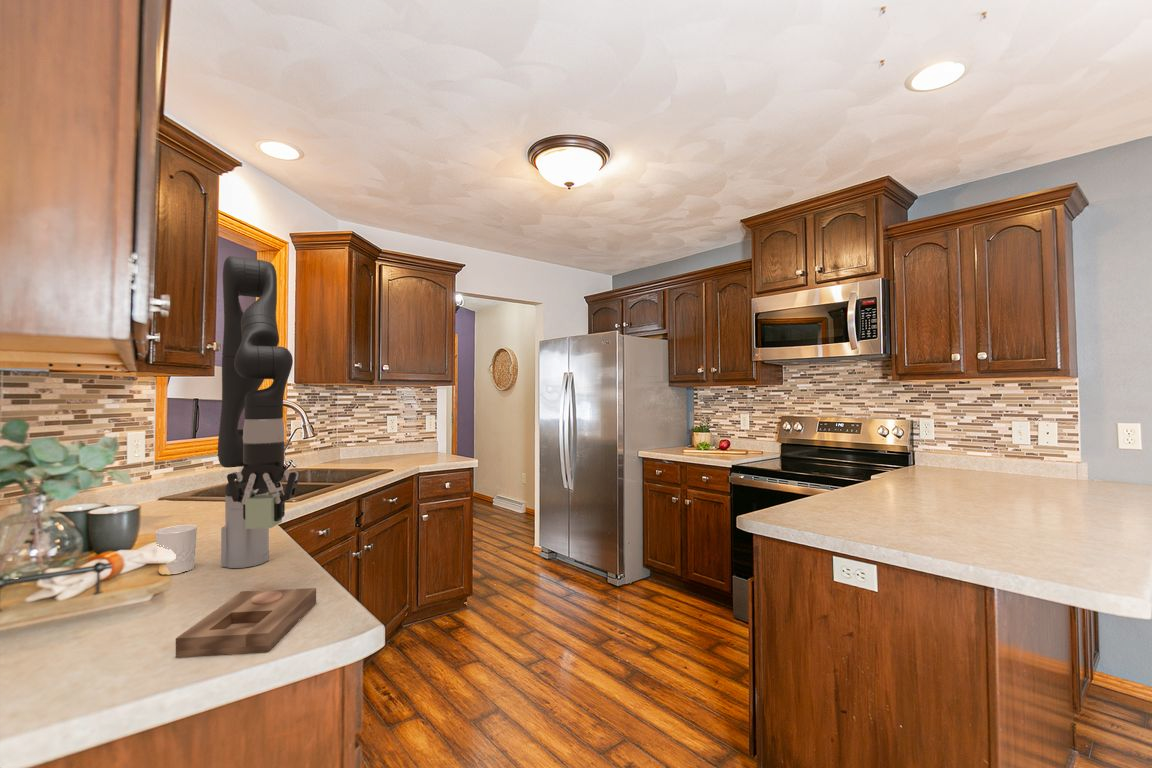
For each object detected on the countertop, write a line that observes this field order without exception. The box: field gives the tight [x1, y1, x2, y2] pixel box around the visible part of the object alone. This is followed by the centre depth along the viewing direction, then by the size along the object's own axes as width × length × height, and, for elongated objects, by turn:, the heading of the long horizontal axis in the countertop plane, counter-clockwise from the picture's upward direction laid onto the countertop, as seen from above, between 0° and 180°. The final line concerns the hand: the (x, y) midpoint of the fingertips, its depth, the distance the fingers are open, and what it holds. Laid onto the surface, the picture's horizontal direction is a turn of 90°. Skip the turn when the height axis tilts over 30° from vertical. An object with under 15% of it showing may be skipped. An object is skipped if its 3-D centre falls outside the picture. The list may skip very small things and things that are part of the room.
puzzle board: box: [175, 587, 317, 658], centre depth 94 cm, size 14×20×4 cm
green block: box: [245, 494, 283, 529], centre depth 111 cm, size 5×5×6 cm
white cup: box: [155, 524, 198, 573], centre depth 126 cm, size 8×8×10 cm
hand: (263, 520), depth 111 cm, fingers closed on green block, 5 cm apart
